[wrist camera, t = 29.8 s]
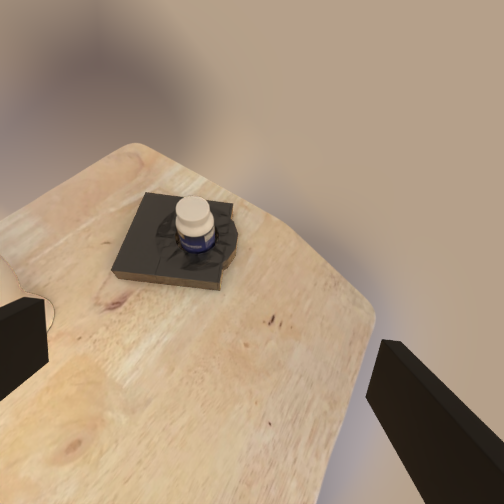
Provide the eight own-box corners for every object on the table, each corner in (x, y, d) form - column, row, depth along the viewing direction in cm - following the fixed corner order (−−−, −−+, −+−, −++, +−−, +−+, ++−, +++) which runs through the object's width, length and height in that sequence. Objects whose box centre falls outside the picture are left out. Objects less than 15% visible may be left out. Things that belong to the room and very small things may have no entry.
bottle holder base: (241, 215, 47) (242, 204, 44) (230, 292, 38) (230, 284, 36) (149, 203, 46) (145, 192, 44) (118, 279, 38) (110, 270, 35)
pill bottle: (175, 251, 41) (163, 213, 33) (193, 228, 44) (185, 187, 36) (205, 264, 41) (200, 229, 32) (221, 239, 43) (220, 201, 35)
